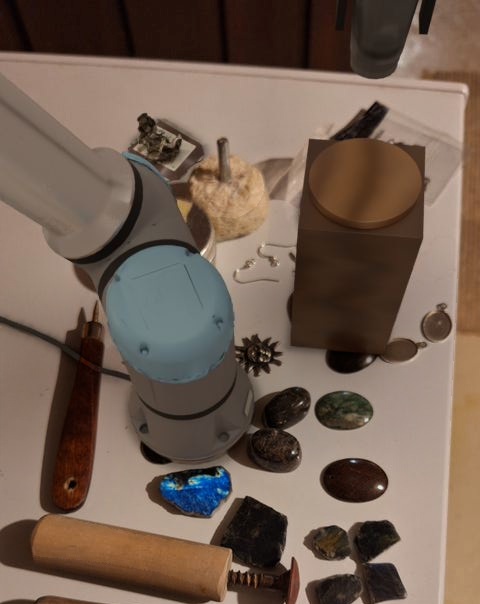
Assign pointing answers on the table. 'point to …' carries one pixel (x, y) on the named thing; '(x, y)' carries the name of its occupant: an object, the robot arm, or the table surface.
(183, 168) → the figurine on square base
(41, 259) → the table surface
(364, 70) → the beverage cup
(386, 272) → the walnut stand
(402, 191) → the cork coaster
